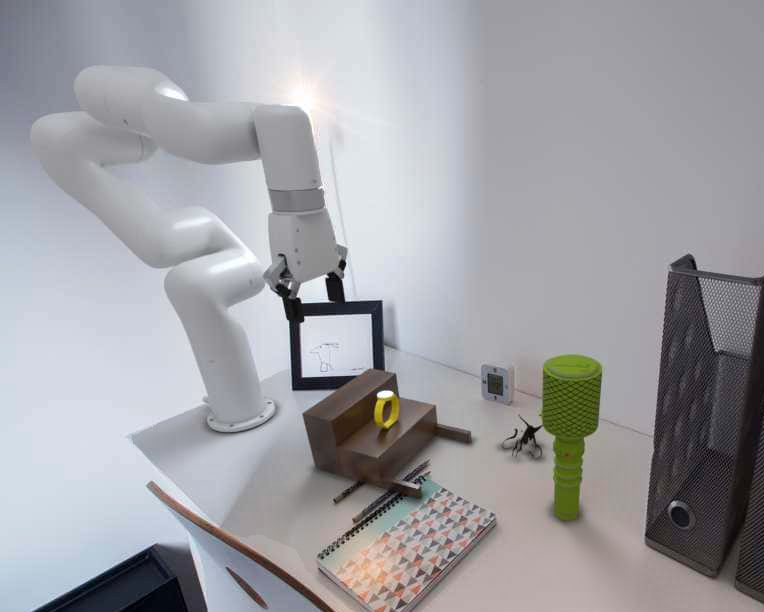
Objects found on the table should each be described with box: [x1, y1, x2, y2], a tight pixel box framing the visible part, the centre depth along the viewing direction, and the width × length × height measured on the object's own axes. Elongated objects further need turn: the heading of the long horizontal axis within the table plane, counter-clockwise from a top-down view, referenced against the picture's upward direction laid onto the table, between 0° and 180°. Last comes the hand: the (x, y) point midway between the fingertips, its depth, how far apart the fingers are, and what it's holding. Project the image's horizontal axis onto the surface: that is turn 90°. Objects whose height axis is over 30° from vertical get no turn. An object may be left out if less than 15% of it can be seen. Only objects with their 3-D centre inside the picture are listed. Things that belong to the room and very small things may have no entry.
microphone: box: [538, 354, 604, 522], centre depth 74 cm, size 8×8×25 cm
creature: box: [501, 413, 543, 460], centre depth 93 cm, size 8×5×8 cm
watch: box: [374, 391, 399, 429], centre depth 90 cm, size 6×3×6 cm, turn 160°
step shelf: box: [301, 367, 472, 500], centre depth 91 cm, size 21×18×11 cm
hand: (317, 311), depth 86 cm, fingers open, 9 cm apart
